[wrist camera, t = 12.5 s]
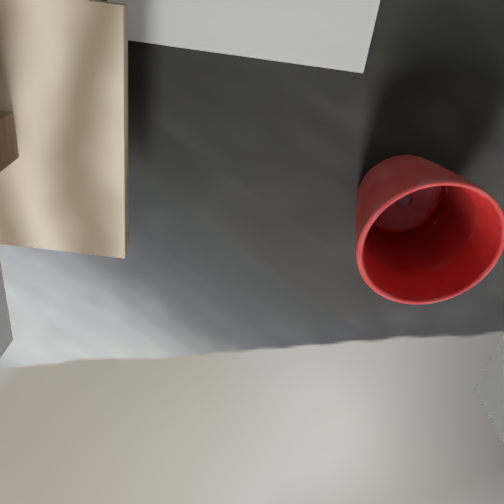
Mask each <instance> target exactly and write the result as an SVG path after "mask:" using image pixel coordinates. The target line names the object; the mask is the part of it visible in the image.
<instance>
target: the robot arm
mask: <svg viewBox="0 0 504 504" xmlns="http://www.w3.org/2000/svg"><path fill="white" fill-rule="evenodd" d="M12 340H13V338H12V331H11V325H10V319H9V313H8V307H7V301H6V294H5V288H4V282H3V276H2V270H1V263H0V358H1V356H2V355H3V353H4V352H5V350H6V349H7V347H8V346H9V344H10V343H11V341H12ZM475 390H476V392H477V394H478V396H479V398H480V400H481V402H482V403H483V405H484V408H485V409H486V411H487V413H488V415H489V417H490V419H491V421H492V423H493V425H494V427H495V429H496V431H497V433H498V435H499V437H500V439H501V441H502V443H503V444H504V333H503V335H502V337H501V339H500V341H499V343H498V345H497V347H496V349H495V351H494V353H493V355H492V357H491V359H490V361H489V363H488V364H487V366H486V368H485V370H484V372H483V374H482V376H481V378H480V380H479V382H478V384H477V386H476V388H475Z"/></svg>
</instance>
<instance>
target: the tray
mask: <svg viewBox="0 0 504 504" xmlns="http://www.w3.org/2000/svg"><path fill="white" fill-rule="evenodd" d="M107 1H109V2H116V3H123V4H128V40H130V41H137V42H144V43H152V44H159V45H166V46H173V47H180V48H187V49H194V50H202V51H209V52H216V53H223V54H230V55H237V56H244V57H251V58H259V59H266V60H273V61H280V62H287V63H294V64H301V65H309V66H316V67H323V68H330V69H337V70H344V71H351V72H358V73H363V72H364V68H365V63H366V59H367V55H368V51H369V46H370V42H371V38H372V34H373V29H374V25H375V21H376V17H377V12H378V8H379V4H380V0H107Z"/></svg>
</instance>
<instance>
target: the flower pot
mask: <svg viewBox="0 0 504 504" xmlns="http://www.w3.org/2000/svg"><path fill="white" fill-rule="evenodd" d="M355 246H356V259H357V265H358V268H359V271H360V274H361V275H362V277H363V279H364V280H365V282H366V283H367V284H368V285H369V287H370V288H371V289H373V290H374V291H375V292H376V293H378V294H379V295H381V296H383V297H385V298H387V299H390V300H392V301H396V302H400V303H406V304H430V303H435V302H440V301H443V300H447V299H450V298H453V297H455V296H457V295H459V294H461V293H463V292H465V291H467V290H469V289H470V288H472V287H473V286H475V285H476V284H477V283H479V282H480V281H481V280H482V279H483V278H484V277H485V276H486V275H487V274H488V273H489V272H490V271H491V270H492V268H493V267H494V266H495V264H496V263H497V261H498V260H499V258H500V256H501V254H502V252H503V250H504V212H503V210H502V208H501V206H500V205H499V203H498V202H497V201H496V199H495V198H494V197H493V196H492V195H490V194H489V193H488V192H487V191H485V190H484V189H482V188H481V187H479V186H477V185H476V184H474V183H472V182H470V181H468V180H466V179H464V178H463V177H461V176H459V175H457V174H455V173H453V172H452V171H450V170H448V169H446V168H444V167H442V166H440V165H438V164H436V163H434V162H432V161H429V160H427V159H425V158H422V157H419V156H415V155H398V156H393V157H390V158H387V159H385V160H383V161H381V162H380V163H378V164H377V165H375V166H374V167H373V168H372V169H370V170H369V172H368V173H367V174H366V175H365V176H364V178H363V180H362V181H361V183H360V186H359V189H358V193H357V203H356V217H355Z"/></svg>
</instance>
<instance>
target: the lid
mask: <svg viewBox="0 0 504 504" xmlns="http://www.w3.org/2000/svg"><path fill="white" fill-rule="evenodd" d="M0 244H6V245H14V246H23V247H31V248H40V249H48V250H57V251H65V252H74V253H83V254H91V255H100V256H108V257H117V258H125V257H126V255H127V253H128V4H123V3H116V2H109V1H102V0H0Z"/></svg>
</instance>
